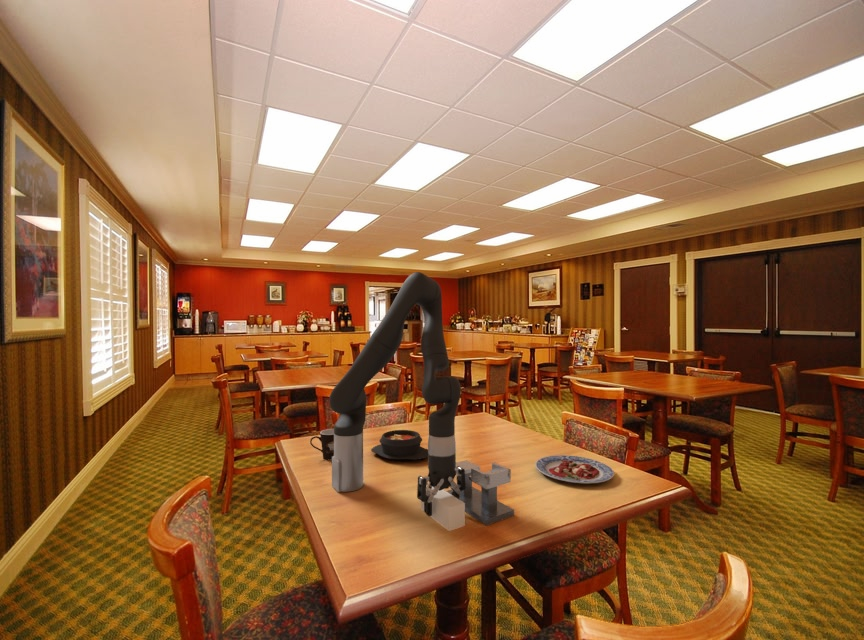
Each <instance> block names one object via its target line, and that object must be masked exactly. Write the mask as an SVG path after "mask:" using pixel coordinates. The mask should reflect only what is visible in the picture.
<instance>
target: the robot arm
mask: <svg viewBox="0 0 864 640" xmlns="http://www.w3.org/2000/svg"><path fill="white" fill-rule="evenodd" d="M441 289H442V288H441V286H440V284H439V283H438V282H437V280H434V279H433V278H432V277H430V276H427V275H426V274H424V273H422V272H420V271H416V272H412V273H411V274H410V275H408V277H407V278H406V279H405V281H404V282H403V283H402V285H401V287H400V288H399V291H398V292H397V295H396V296H395V298H394V300H393V302H392V303H391V305H390V307H389V308H388V310H387V311H386V313H385V315H384V316H383V318H382V320H381V321H380V323H379V324H378V326H377V327H376V328H375V329H374V331H373V333H372V334H371V335H370V337H369V339H368V340H367V342H366V343H365V345H364V346H363V348H362V349H361V351H360V352H359V354H358V355H357V357H356V358H355V360H354V361H353V363H352V364H351V366H350V368H349V369H348V370H347V372H346V373H345V374H344V375H343V377H342V378H341V379H340V380H339V381H338V383H337V384H336V385H335V386H334V388H333V389H332V391H331V392H330V395H329V406H330V408H331V410H332V411H333V412H334V413H336V414H339V416H338V418H337V420H336V422H335V424H334V426H333V429H334V456H332V460H331V486H332V488H333V489H334V490H335V491H336V492H338V493H341V492H342V493H345V492H346V493H347V492H353V491H357V490H361V488H363V486H364V426H365V423H366V415H367V413H366V412H367V408H366V407H367V393H366V389H365V387H366V386H367V385H368V383H369V382H370V381H371V380H372V379H373V378H374V377H375V376H376V375H377V374H378V373H379V372H380V371H382V370H383V369H384V368H386V367H385V366H387V365H388V363H389V362H390V361H392V359H393V357H394V355H395V354H396V353H397V351H398V350H399V348H400V346H401V344H402V342H403V336H404V328H405V322H406V320H407V317H408V315H409V314H410V312H411V311H412V309H413V308H414V306H415V305H417V306H419V307H421V311H422V313H423V316H424V326H423V329H422V330H423V331H422V333H421V337H420V348H421V349H420V350H421V355H422V360H423V377H422V378H423V380H422V386H421V387H422V388H421V394H422V395H421V396H422V398H423V399H424V401H425V402H426V403H427V404H429V405H430V404H431V405H436V404H443V406H442V407H441V408H439V409H438V410H435V411H433V412H431V413H429V416H428V440H427V449H428V456H427V469H428V474H427V475H425V476H422V475H419V476H418V477H417V489H416V490H417V492H416V498H417V499H418V500H419V501H420V502H421V501H422V502H424V511H423V513H425V515H426V516H428V517H430V516H432V502H431V501H432V499H433V497H434V495H436V494H437V492H438V490H439V491H440V490H447V489H449V488H450V490H452V491H453V492H452V495H453V496H454V497H456V498H458V499H459V494H460V492H461V491H462V490H465V489H466V484H465V470H464V469H463V468H461V467H459V466H457V467H456V463H457V460H456V459H457V456H456V454H457V453H456V452H457V451H456V449H457V445H456V436H455V433H456V432H455V431H456V428H455V427H456V426H455V425H456V424H455V423H456V422H455V420H456V415H457V410H458V407H459V402H460V399H461V395H462V386H461V384H460V380H458V378H457V377H455V376H452V375H451V376H436V373H438V372H441V371H444V370H446V369H447V368H448V367H449V366H450V365H449V364H450V362H449V356H448V351H447V344H446V340H445V336H444V335H445V334H444V326H443V299H442V297H443V296H442V295H443V294H442V290H441ZM455 467H456V469H455ZM455 478H456V481H455ZM432 486H433V487H434V489H433V490H432ZM426 487H427V488H426Z"/></svg>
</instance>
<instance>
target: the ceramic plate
mask: <svg viewBox="0 0 864 640" xmlns="http://www.w3.org/2000/svg"><path fill="white" fill-rule="evenodd" d="M535 468H536V469H537V471H539V472H540V473H541V474H543V475H545V476H547V477H549V478H551V479H555V480H559V481H563V482H568V483H575V484H599V483H604V482H607V481H610V480H612V478H613V477H614V476H615V472H614V470H613V469H612V467H610V466H609V465H607V464H606V463H604V462H601V461H598V460H595V459H593V458H589V457H583V456H578V455H571V454H570V455H569V454H568V455H565V454H559V455H558V454H557V455H556V454H555V455H548V456H544V457H541V458H539V459H537V460H536V461H535Z"/></svg>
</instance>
